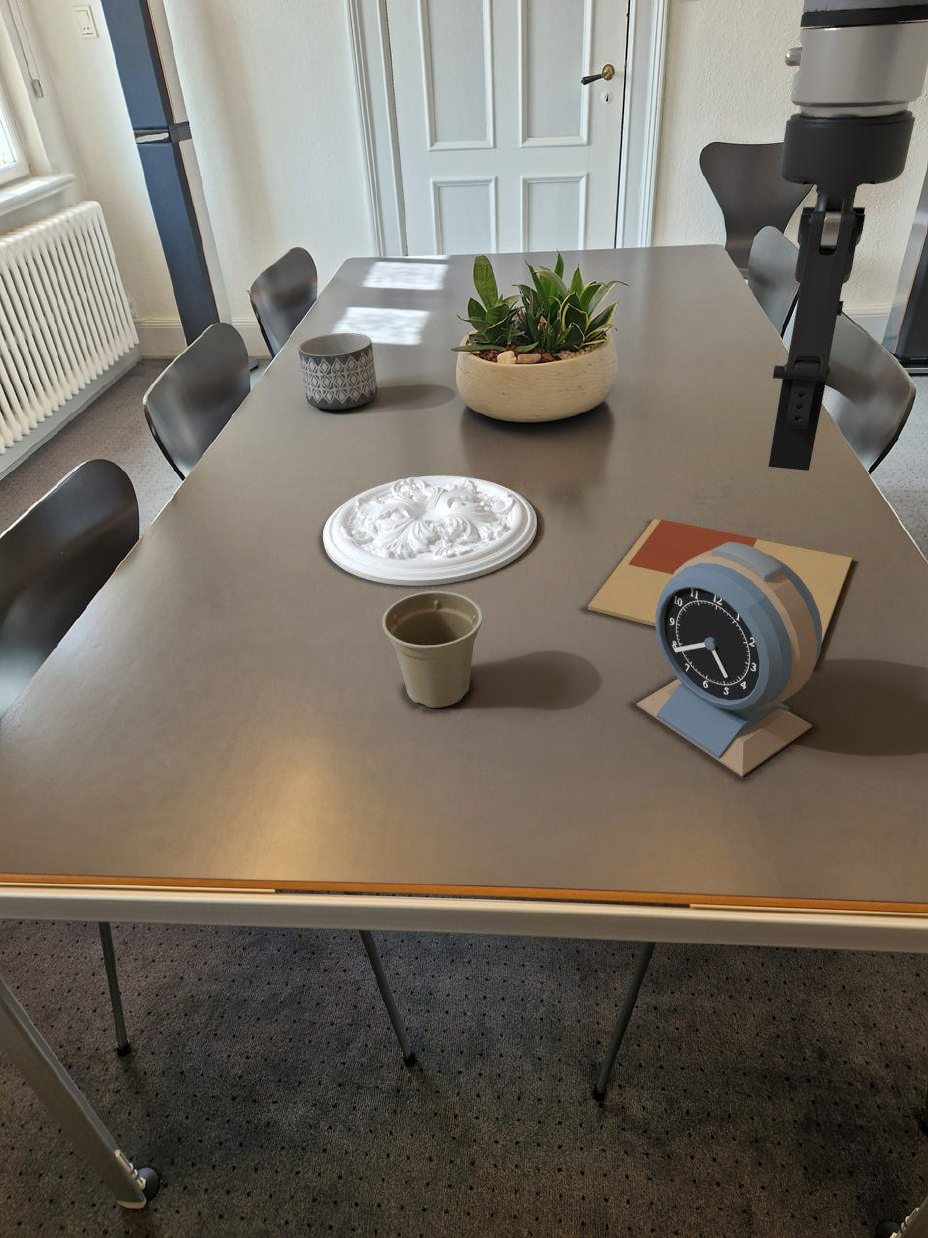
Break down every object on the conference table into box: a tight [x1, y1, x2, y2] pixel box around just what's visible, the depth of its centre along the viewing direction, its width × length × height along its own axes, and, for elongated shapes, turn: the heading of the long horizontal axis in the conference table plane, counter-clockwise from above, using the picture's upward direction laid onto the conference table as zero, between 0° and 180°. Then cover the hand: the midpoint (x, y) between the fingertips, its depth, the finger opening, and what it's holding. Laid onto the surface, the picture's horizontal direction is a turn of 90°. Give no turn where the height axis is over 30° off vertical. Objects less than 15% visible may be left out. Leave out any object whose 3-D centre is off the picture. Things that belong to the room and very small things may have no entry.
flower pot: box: [381, 590, 483, 709], centre depth 82 cm, size 9×9×9 cm
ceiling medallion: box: [322, 475, 538, 587], centre depth 111 cm, size 28×28×3 cm
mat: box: [587, 518, 853, 646], centre depth 97 cm, size 24×22×1 cm
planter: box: [297, 332, 378, 411], centre depth 150 cm, size 13×13×10 cm
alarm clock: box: [636, 542, 822, 778], centre depth 74 cm, size 14×10×18 cm
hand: (794, 430), depth 65 cm, fingers open, 13 cm apart
